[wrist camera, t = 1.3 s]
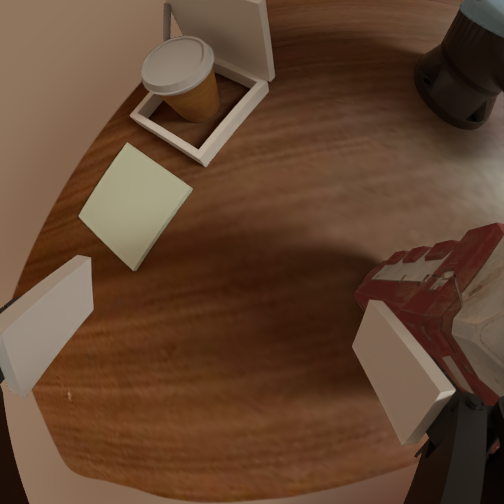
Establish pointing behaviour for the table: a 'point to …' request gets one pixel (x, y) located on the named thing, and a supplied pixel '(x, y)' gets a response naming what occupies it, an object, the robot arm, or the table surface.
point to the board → (133, 205)
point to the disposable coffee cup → (183, 77)
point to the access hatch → (220, 62)
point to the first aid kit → (451, 305)
